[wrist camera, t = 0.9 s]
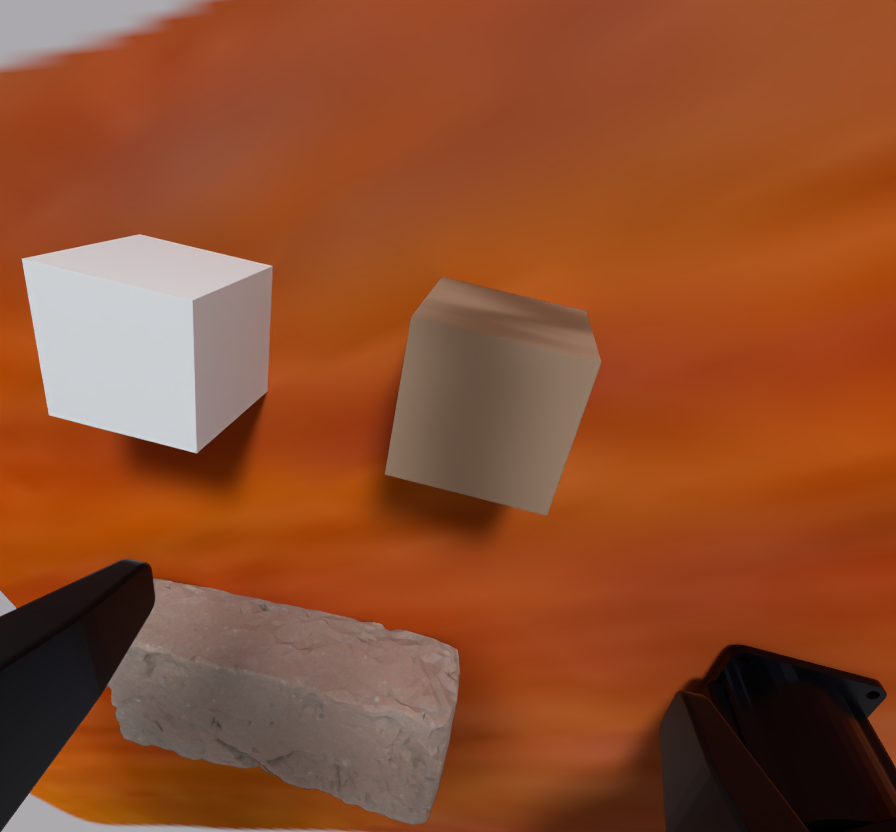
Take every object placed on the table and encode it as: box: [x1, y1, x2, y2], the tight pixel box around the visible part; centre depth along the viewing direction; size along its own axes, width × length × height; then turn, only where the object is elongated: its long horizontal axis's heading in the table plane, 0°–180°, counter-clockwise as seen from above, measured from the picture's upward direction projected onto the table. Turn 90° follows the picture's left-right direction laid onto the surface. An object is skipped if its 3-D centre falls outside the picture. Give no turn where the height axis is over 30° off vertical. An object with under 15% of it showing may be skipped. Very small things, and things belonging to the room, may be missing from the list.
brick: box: [108, 579, 460, 824], centre depth 26 cm, size 17×8×5 cm, turn 82°
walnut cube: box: [385, 277, 601, 516], centre depth 17 cm, size 5×5×5 cm
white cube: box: [22, 234, 273, 453], centre depth 18 cm, size 5×5×5 cm
